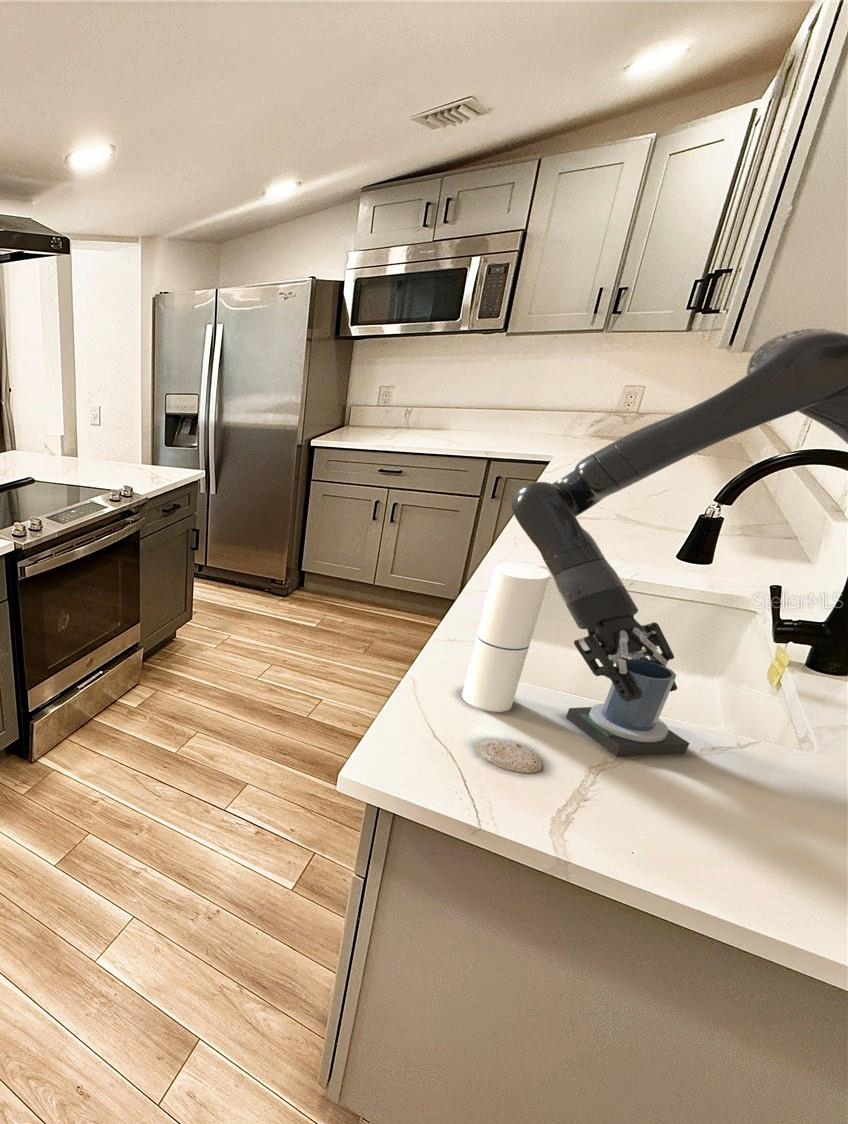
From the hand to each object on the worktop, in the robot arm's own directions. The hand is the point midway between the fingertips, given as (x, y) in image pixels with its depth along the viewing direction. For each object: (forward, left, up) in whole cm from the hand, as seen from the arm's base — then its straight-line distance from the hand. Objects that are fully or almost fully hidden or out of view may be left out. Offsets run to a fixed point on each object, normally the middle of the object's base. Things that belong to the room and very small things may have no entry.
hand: (651, 695), depth 91 cm
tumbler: (0, -2, -5) cm, 6 cm away
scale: (0, -2, -9) cm, 9 cm away
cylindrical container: (+14, -13, -9) cm, 21 cm away
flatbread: (+20, +2, -9) cm, 22 cm away
